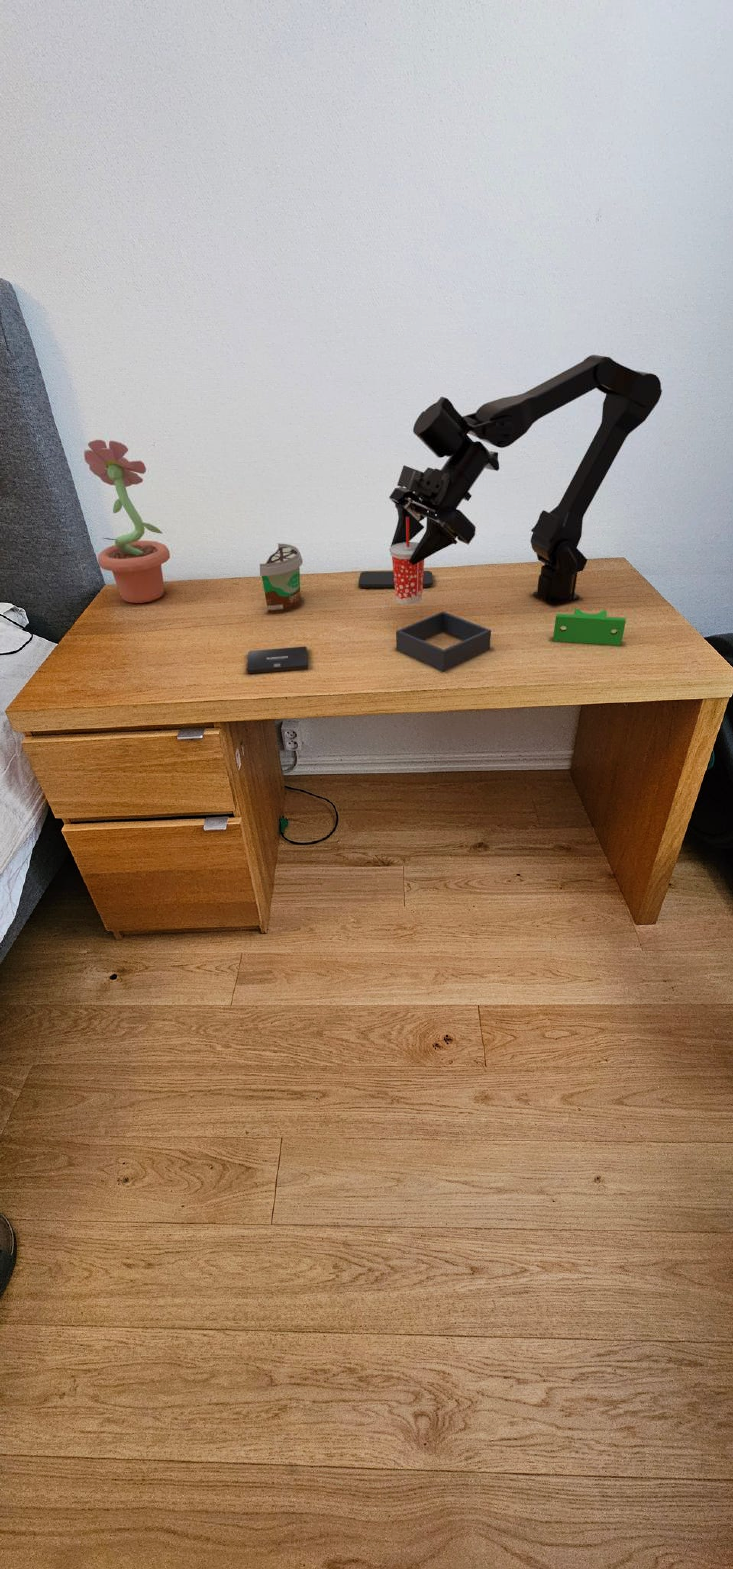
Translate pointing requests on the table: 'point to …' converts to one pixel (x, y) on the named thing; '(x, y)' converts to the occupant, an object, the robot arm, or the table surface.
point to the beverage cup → (407, 571)
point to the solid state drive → (277, 659)
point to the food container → (282, 579)
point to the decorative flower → (130, 557)
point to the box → (414, 646)
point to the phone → (387, 579)
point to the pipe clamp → (589, 628)
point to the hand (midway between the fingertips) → (401, 558)
